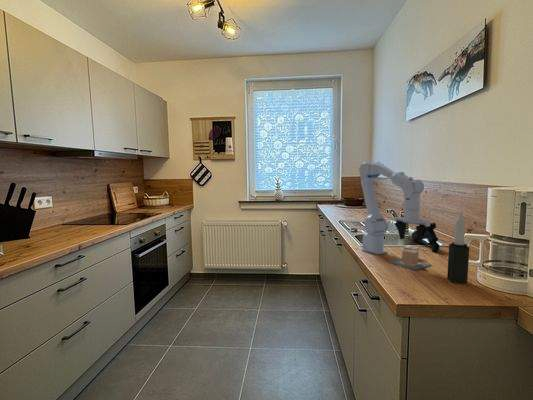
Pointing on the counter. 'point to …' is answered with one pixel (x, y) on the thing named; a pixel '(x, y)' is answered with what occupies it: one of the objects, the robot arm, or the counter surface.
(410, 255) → the block brown
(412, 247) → the block cream
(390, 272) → the counter surface
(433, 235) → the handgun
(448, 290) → the counter surface
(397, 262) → the board
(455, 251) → the black and grey bottle
